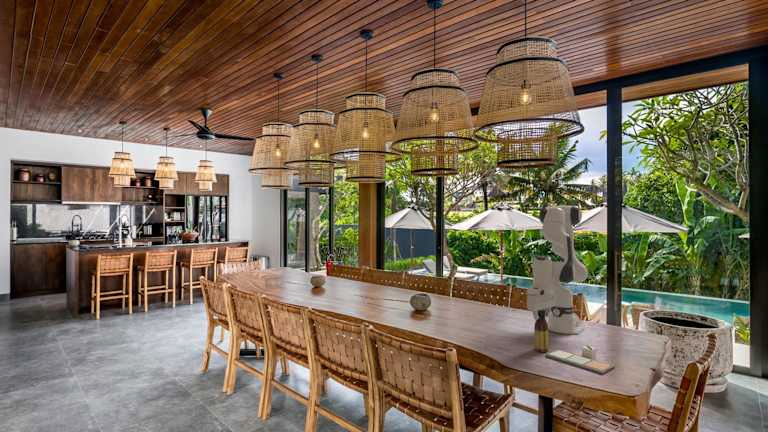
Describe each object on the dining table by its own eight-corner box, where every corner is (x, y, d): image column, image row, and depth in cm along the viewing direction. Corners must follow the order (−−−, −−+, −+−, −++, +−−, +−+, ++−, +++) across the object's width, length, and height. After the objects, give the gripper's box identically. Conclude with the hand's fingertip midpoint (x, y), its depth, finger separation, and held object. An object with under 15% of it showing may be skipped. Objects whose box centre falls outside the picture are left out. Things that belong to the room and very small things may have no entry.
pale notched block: (586, 355, 182) (586, 344, 182) (596, 357, 179) (596, 347, 179) (581, 357, 180) (582, 346, 179) (591, 360, 176) (592, 349, 176)
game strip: (558, 351, 187) (558, 348, 186) (614, 368, 167) (614, 365, 167) (545, 356, 179) (545, 354, 179) (602, 374, 159) (602, 371, 159)
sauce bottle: (544, 348, 190) (545, 308, 190) (550, 353, 184) (551, 311, 184) (531, 348, 190) (532, 308, 190) (537, 353, 184) (537, 311, 184)
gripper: (547, 286, 196) (546, 313, 196) (524, 290, 183) (524, 319, 183) (559, 288, 191) (558, 316, 191) (536, 292, 178) (536, 322, 178)
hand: (541, 317), depth 187 cm, fingers open, 8 cm apart
